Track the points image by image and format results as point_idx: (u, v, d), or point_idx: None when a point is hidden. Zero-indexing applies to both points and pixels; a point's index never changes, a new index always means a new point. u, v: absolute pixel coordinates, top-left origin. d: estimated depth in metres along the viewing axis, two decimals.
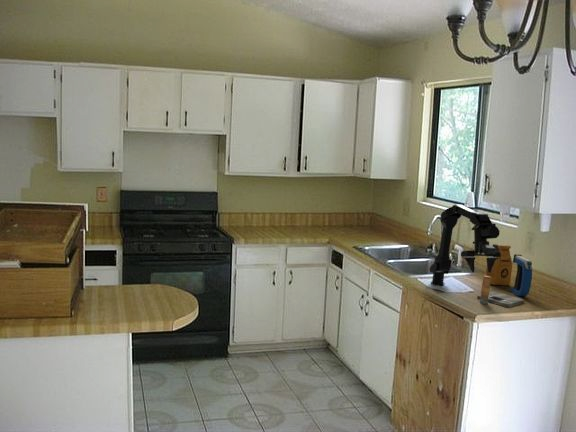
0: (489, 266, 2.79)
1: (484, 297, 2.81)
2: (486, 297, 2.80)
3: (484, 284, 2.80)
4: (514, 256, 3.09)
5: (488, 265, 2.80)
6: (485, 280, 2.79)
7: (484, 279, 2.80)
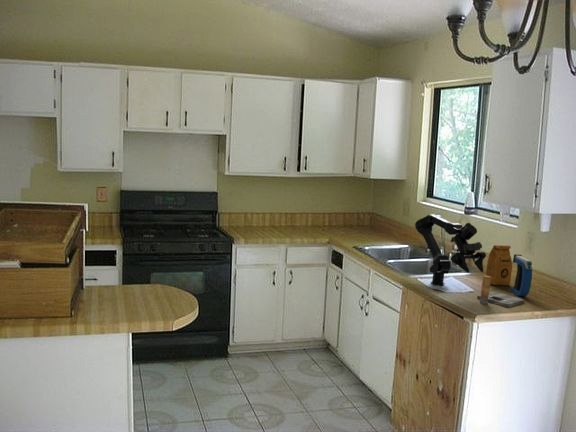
0: (480, 266, 2.91)
1: (484, 297, 2.81)
2: (486, 297, 2.80)
3: (484, 284, 2.80)
4: (514, 256, 3.09)
5: (478, 266, 2.92)
6: (485, 280, 2.79)
7: (484, 279, 2.80)
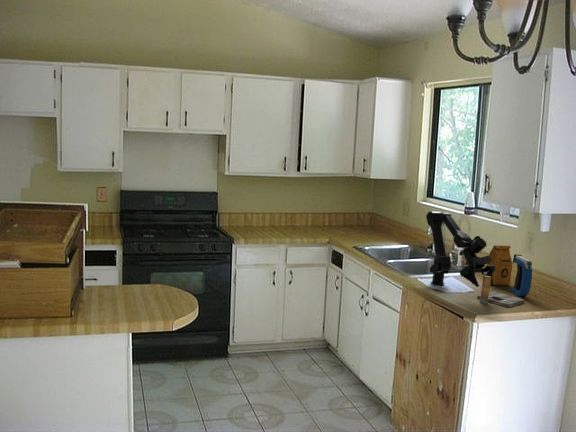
0: None
1: (484, 297, 2.81)
2: (486, 297, 2.80)
3: (484, 284, 2.80)
4: (514, 256, 3.09)
5: None
6: (485, 280, 2.79)
7: (484, 279, 2.80)
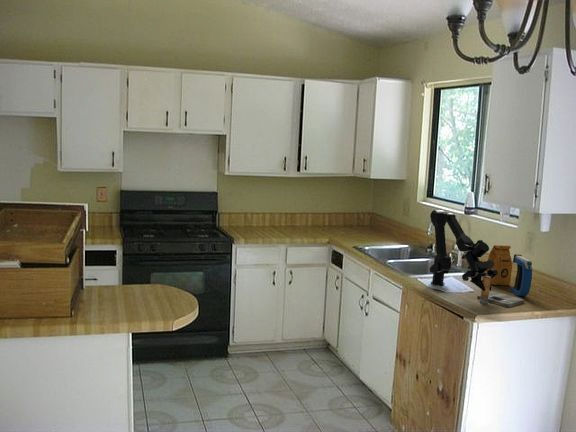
0: None
1: (484, 297, 2.80)
2: (486, 297, 2.80)
3: (484, 284, 2.80)
4: (514, 256, 3.09)
5: None
6: (485, 279, 2.79)
7: (484, 279, 2.80)
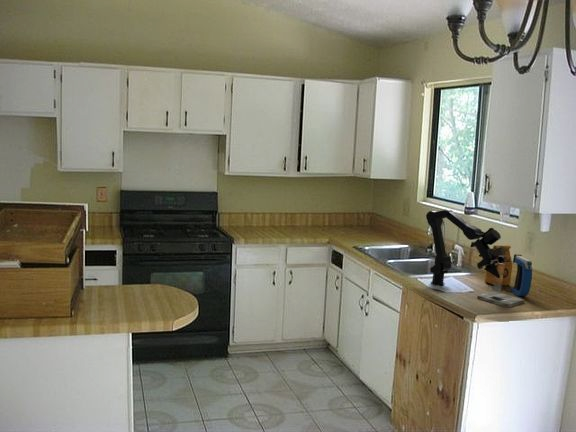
0: None
1: (498, 284, 2.83)
2: (500, 284, 2.84)
3: (498, 271, 2.83)
4: (514, 256, 3.09)
5: None
6: (500, 267, 2.82)
7: (498, 266, 2.83)
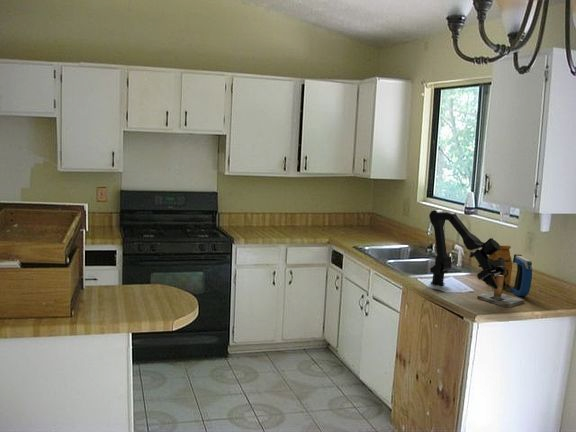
0: None
1: (498, 296, 2.85)
2: (500, 296, 2.85)
3: (498, 283, 2.84)
4: (514, 256, 3.09)
5: None
6: (499, 279, 2.84)
7: (498, 278, 2.84)
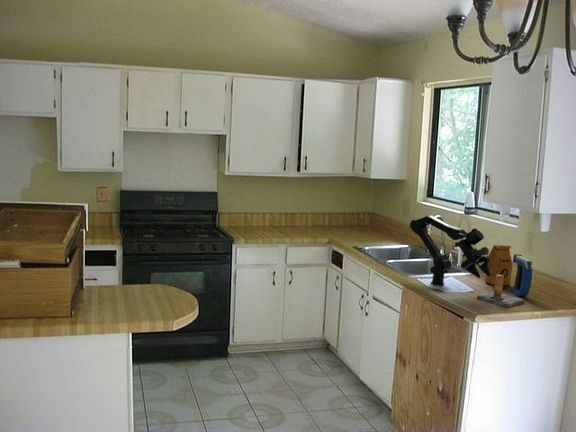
0: (486, 270, 2.96)
1: (498, 296, 2.85)
2: (500, 296, 2.85)
3: (498, 283, 2.84)
4: (514, 256, 3.09)
5: (484, 270, 2.96)
6: (499, 279, 2.84)
7: (498, 278, 2.84)
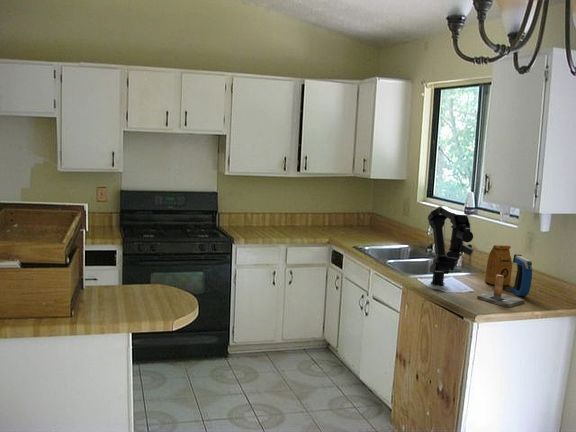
0: None
1: (498, 296, 2.85)
2: (500, 296, 2.85)
3: (498, 283, 2.84)
4: (514, 256, 3.09)
5: None
6: (499, 279, 2.84)
7: (498, 278, 2.84)
